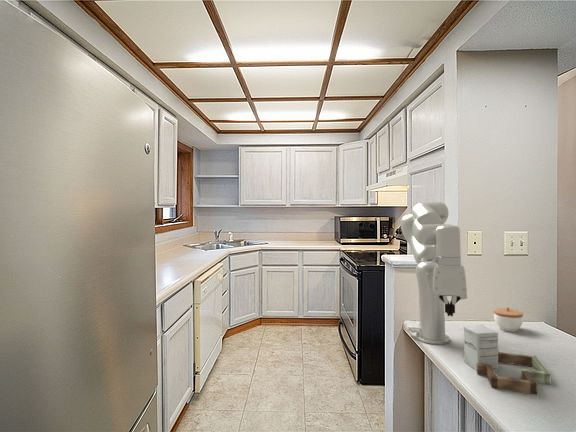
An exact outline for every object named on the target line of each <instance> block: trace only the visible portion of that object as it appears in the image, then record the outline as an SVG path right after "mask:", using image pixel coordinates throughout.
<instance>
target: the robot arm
mask: <svg viewBox="0 0 576 432" xmlns="http://www.w3.org/2000/svg"><path fill="white" fill-rule="evenodd" d="M448 217H449V208H448V206H447V205H446V204H445V203H443V202H440V201H438V202H420V203H416V204H415V205H414V206H413V207H412V210H411V213H409V214H405V215H404V216H403V217H402V218H401V220H400V229H401V233H402V236H403V237H404V239H405V240H406V242H407V243H408V245H409V246H410V249H411V252H412V255H413V257H414V260H415V263H416V264H417V265H416V266H415V267H416V268H415V275H416V279H417V281H416V282H417V288H418V311H419V312H418V314H419V315H418V316H419V324H418V325H416V326H412V325H408V327H407V328H408V330H407V331H410V332H411V333H416V334H415V337H416V339H417V340H419V342H423V343H427V344H431V345H445V344H448V343H449V342H450V341H451V339H450V335H448V334H446V315H447V317H454V314H455V313H456V304H457V303H458V302H459V301H460V300H461V301H462V300H467V299H468V294H467V291H468V289H467V286H468V285H467V278H466V272H465V267H464V265H462V259H461V258H462V257H461V254H462V253H461V252H462V251H461V250H462V249H461V230H460V227H459V226H458V225H453V224H450V223H449V224H447V223H446V221H447V220H448ZM448 297H451V300H448ZM445 313H446V314H445Z"/></svg>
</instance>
